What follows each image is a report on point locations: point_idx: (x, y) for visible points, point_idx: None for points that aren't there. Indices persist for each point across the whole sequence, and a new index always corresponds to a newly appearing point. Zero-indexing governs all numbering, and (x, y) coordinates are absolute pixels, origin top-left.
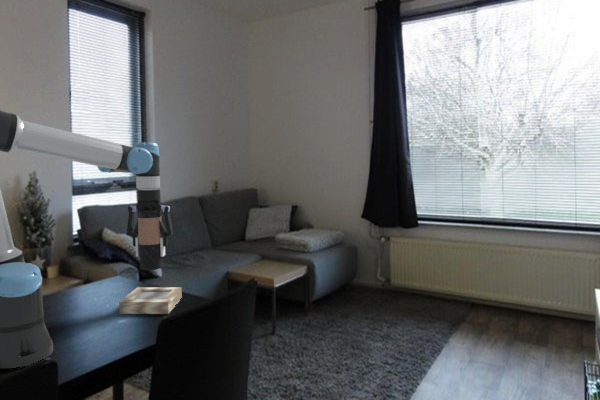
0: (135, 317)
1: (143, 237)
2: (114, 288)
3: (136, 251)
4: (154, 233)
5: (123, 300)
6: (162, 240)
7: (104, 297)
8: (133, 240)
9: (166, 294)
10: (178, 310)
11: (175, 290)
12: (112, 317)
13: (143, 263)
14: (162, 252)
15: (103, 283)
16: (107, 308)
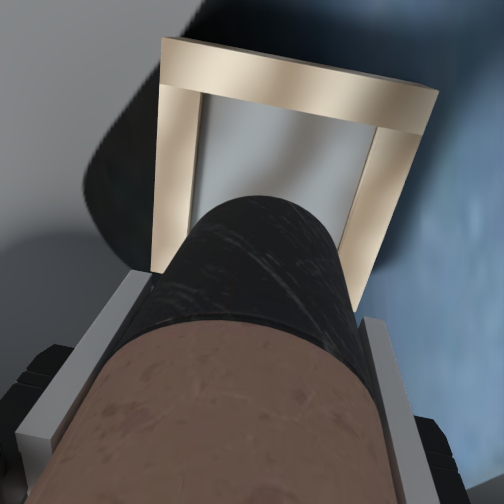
0: (337, 8)
1: (299, 436)
2: (447, 403)
3: (389, 355)
4: (64, 497)
5: (415, 111)
6: (42, 399)
7: (488, 316)
8: (457, 493)
9: (208, 207)
10: (144, 84)
11: (168, 230)
12: (455, 30)
13: (308, 230)
14: (117, 294)
15: (488, 457)
16: (478, 175)
